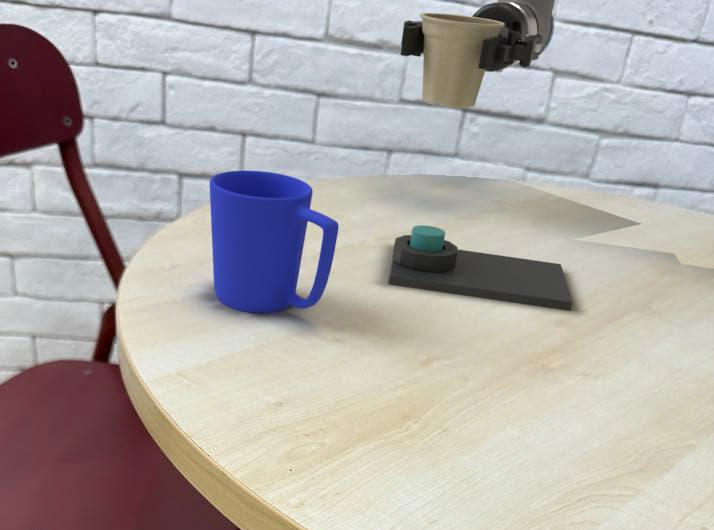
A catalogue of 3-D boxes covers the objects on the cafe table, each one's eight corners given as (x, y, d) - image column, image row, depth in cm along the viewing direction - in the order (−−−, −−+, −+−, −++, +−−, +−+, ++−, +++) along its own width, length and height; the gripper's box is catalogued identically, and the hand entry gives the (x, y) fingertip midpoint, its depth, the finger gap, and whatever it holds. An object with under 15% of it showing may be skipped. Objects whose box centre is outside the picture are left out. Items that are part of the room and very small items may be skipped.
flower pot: (390, 97, 99) (402, 10, 94) (444, 94, 105) (458, 12, 100) (450, 114, 94) (466, 23, 89) (503, 110, 99) (521, 25, 94)
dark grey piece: (557, 277, 87) (565, 248, 86) (568, 316, 78) (578, 285, 77) (393, 253, 88) (398, 224, 86) (386, 290, 79) (391, 258, 78)
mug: (287, 348, 67) (299, 218, 61) (186, 299, 73) (187, 177, 67) (354, 325, 72) (370, 203, 66) (254, 280, 78) (261, 165, 72)
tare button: (442, 246, 83) (445, 227, 82) (441, 256, 81) (445, 237, 80) (410, 241, 83) (413, 223, 82) (408, 251, 81) (411, 232, 80)
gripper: (573, 82, 108) (530, 103, 91) (418, 56, 115) (351, 71, 98) (590, 14, 104) (548, 22, 87) (428, -9, 110) (360, -6, 93)
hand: (444, 48), depth 92 cm, fingers closed on flower pot, 8 cm apart
